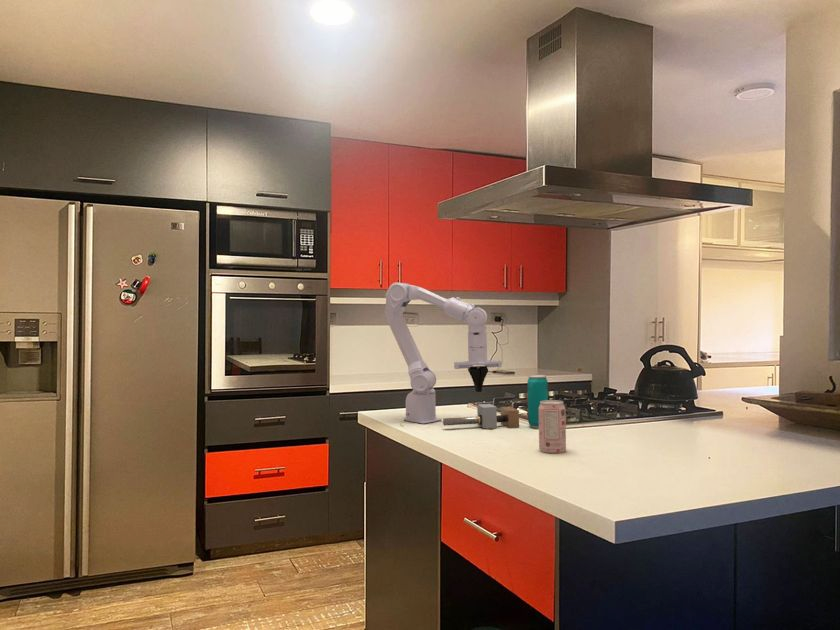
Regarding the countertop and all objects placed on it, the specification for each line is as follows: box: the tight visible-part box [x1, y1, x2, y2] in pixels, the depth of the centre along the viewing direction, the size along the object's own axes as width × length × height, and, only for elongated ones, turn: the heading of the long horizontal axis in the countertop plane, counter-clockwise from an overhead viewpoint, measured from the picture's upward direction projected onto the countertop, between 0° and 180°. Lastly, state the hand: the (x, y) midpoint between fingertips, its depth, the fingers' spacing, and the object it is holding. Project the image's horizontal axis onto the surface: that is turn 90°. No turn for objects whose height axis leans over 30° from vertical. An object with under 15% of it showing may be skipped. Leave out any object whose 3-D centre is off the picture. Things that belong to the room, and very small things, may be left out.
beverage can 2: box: [538, 399, 567, 454], centre depth 157 cm, size 6×6×12 cm
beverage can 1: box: [527, 374, 549, 430], centre depth 186 cm, size 6×6×15 cm
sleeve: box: [476, 403, 498, 429], centre depth 188 cm, size 4×6×6 cm, turn 11°
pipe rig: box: [442, 406, 520, 431], centre depth 188 cm, size 22×9×5 cm, turn 101°
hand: (478, 391), depth 196 cm, fingers closed
